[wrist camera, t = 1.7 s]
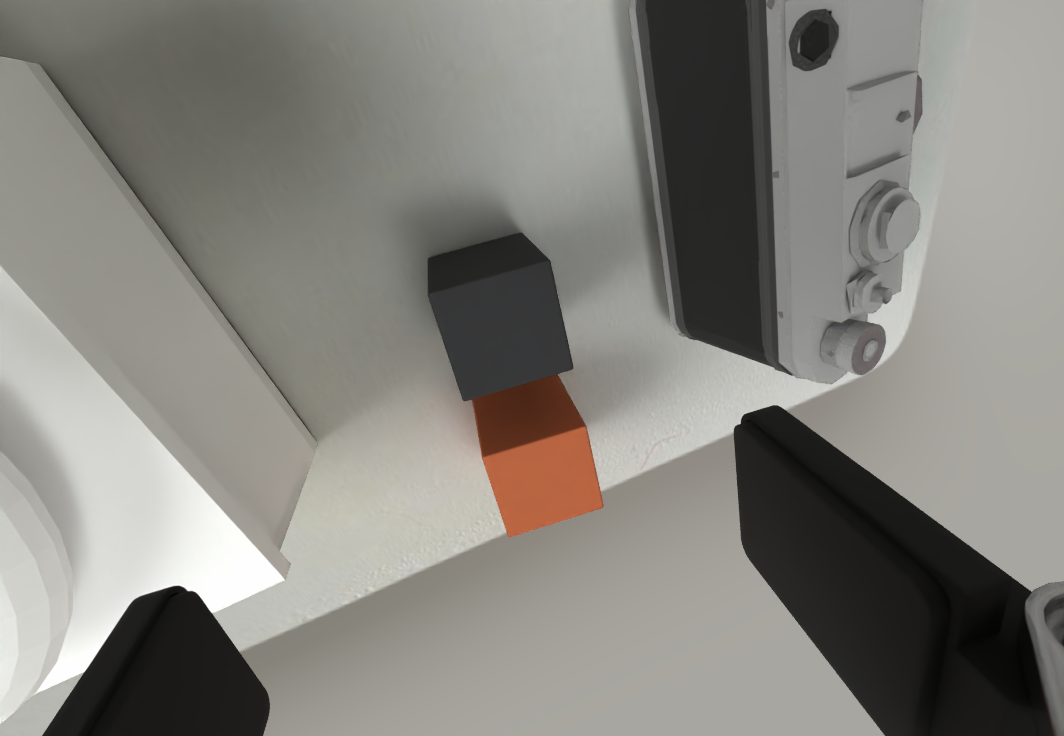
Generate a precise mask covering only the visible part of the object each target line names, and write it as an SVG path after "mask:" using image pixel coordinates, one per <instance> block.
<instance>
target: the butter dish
mask: <svg viewBox="0 0 1064 736" xmlns="http://www.w3.org/2000/svg"><path fill="white" fill-rule="evenodd" d="M317 447H318V443H317V442H316V441H315V439H314V438H313V437H312V435H311V434H310V433H309V431H308V430H307V429H306V427H305V426H304V424H303V423H302V422H301V420H300V419H299V418H298V416H297V415H296V414H295V412H294V411H293V409H292V408H291V407H290V405H289V404H288V403H287V401H286V400H285V399H284V397H283V396H282V394H281V393H280V392H279V390H278V389H277V388H276V386H275V385H274V384H273V382H272V381H271V379H270V378H269V377H268V375H267V374H266V373H265V371H264V370H263V369H262V367H261V366H260V364H259V363H258V362H257V360H256V359H255V358H254V356H253V355H252V354H251V352H250V351H249V349H248V348H247V347H246V345H245V344H244V343H243V341H242V340H241V339H240V337H239V336H238V334H237V333H236V332H235V330H234V329H233V328H232V326H231V325H230V324H229V322H228V321H227V319H226V318H225V317H224V315H223V314H222V313H221V311H220V310H219V309H218V307H217V306H216V304H215V303H214V302H213V300H212V299H211V298H210V296H209V295H208V294H207V292H206V291H205V289H204V288H203V287H202V285H201V284H200V283H199V281H198V280H197V279H196V277H195V276H194V274H193V273H192V272H191V270H190V269H189V268H188V266H187V265H186V264H185V262H184V261H183V259H182V258H181V257H180V255H179V254H178V253H177V251H176V250H175V249H174V247H173V246H172V244H171V243H170V242H169V240H168V239H167V238H166V236H165V235H164V234H163V232H162V231H161V229H160V228H159V227H158V225H157V224H156V223H155V221H154V220H153V219H152V217H151V216H150V215H149V213H148V212H147V210H146V209H145V208H144V206H143V205H142V204H141V202H140V201H139V200H138V198H137V197H136V195H135V194H134V193H133V191H132V190H131V189H130V187H129V186H128V185H127V183H126V182H125V180H124V179H123V178H122V176H121V175H120V174H119V172H118V171H117V170H116V168H115V167H114V165H113V164H112V163H111V161H110V160H109V159H108V157H107V156H106V155H105V153H104V152H103V150H102V149H101V148H100V146H99V145H98V144H97V142H96V141H95V140H94V138H93V137H92V135H91V134H90V133H89V131H88V130H87V129H86V127H85V126H84V125H83V123H82V122H81V120H80V119H79V118H78V116H77V115H76V114H75V112H74V111H73V110H72V108H71V107H70V105H69V104H68V103H67V101H66V100H65V99H64V97H63V96H62V95H61V93H60V92H59V90H58V89H57V88H56V86H55V85H54V84H53V82H52V81H51V80H50V78H49V77H48V75H47V74H46V73H45V71H44V70H43V69H42V67H41V66H40V65H39V64H36V63H31V62H26V61H21V60H16V59H11V58H6V57H1V56H0V724H1V723H2V722H3V721H5V720H6V719H7V718H8V717H9V716H10V715H11V714H13V713H14V712H15V711H16V710H17V709H18V708H20V707H21V706H22V705H23V704H24V703H25V702H26V701H28V700H29V699H30V698H31V697H32V696H33V695H35V694H36V693H38V692H41V691H43V690H45V689H47V688H49V687H52V686H54V685H56V684H58V683H60V682H63V681H65V680H67V679H69V678H71V677H73V676H76V675H78V674H80V673H82V672H84V671H86V669H87V668H88V666H89V665H90V663H91V662H92V660H93V659H94V657H95V656H96V654H97V653H98V651H99V650H100V648H101V647H102V645H103V644H104V642H105V641H106V639H107V638H108V636H109V635H110V633H111V632H112V630H113V629H114V627H115V626H116V624H117V623H118V621H119V620H120V618H121V617H122V615H123V614H124V612H125V611H126V609H127V608H128V606H129V605H130V604H131V602H132V601H133V600H134V599H136V598H138V597H139V596H142V595H145V594H148V593H152V592H155V591H158V590H162V589H165V588H168V587H172V586H182V587H184V588H185V589H186V590H187V591H194V592H196V593H197V594H198V595H199V596H200V597H201V599H202V600H203V602H204V603H205V604H206V606H207V607H208V609H209V610H210V611H211V613H214V612H216V611H218V610H220V609H223V608H225V607H227V606H229V605H231V604H234V603H236V602H238V601H240V600H242V599H245V598H247V597H249V596H251V595H253V594H256V593H258V592H260V591H262V590H264V589H267V588H269V587H271V586H273V585H275V584H278V583H280V582H282V581H284V580H286V577H287V574H288V571H289V568H290V564H291V563H290V562H289V561H288V560H287V559H286V558H285V557H284V555H283V554H282V553H281V552H280V549H281V546H282V543H283V540H284V538H285V535H286V532H287V529H288V527H289V524H290V521H291V518H292V516H293V513H294V510H295V507H296V505H297V502H298V499H299V496H300V494H301V491H302V488H303V485H304V482H305V480H306V477H307V474H308V471H309V469H310V466H311V463H312V460H313V458H314V455H315V452H316V449H317Z"/></svg>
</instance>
